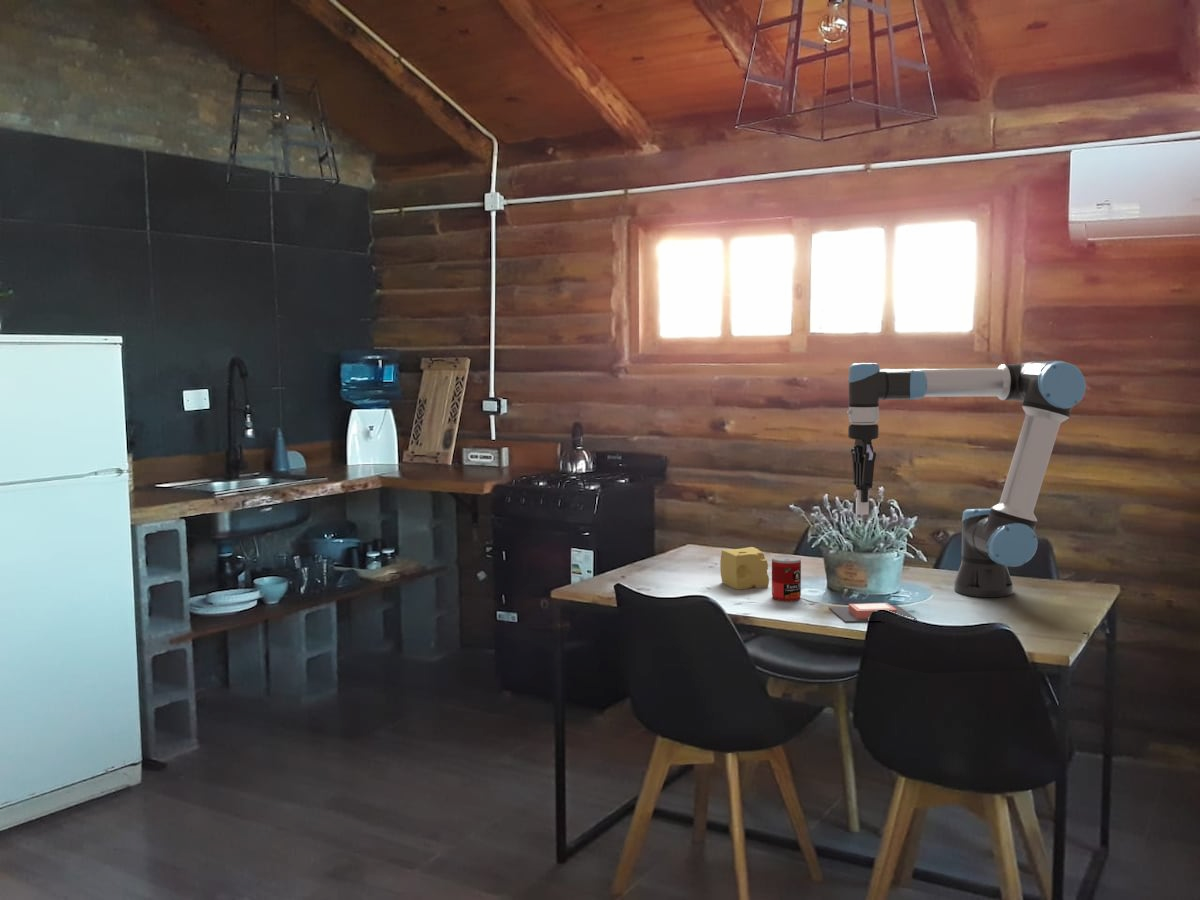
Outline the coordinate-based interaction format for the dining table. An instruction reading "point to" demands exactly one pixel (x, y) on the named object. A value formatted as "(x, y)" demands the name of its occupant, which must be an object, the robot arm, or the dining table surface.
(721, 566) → the cheese
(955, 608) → the dining table surface
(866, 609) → the block
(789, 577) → the canned food
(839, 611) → the mat
